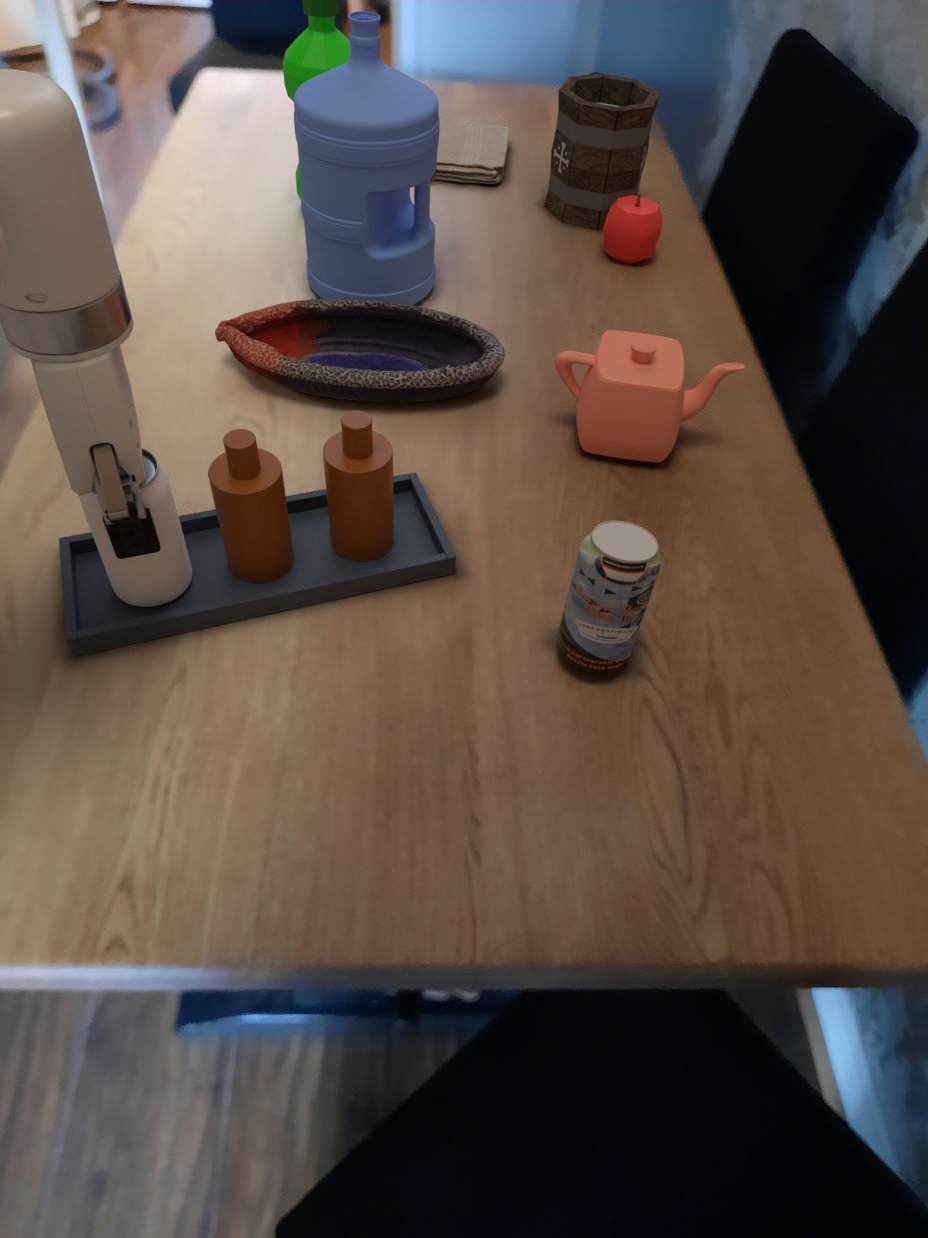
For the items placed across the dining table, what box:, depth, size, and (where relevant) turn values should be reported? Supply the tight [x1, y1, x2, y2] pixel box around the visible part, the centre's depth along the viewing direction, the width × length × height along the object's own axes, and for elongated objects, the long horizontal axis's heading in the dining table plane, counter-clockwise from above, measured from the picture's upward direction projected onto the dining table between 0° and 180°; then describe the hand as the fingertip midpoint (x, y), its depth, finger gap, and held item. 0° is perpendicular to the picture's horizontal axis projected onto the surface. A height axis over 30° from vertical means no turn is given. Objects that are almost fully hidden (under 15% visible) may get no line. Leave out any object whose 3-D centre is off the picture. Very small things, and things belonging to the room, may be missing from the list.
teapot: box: [554, 329, 746, 463], centre depth 85 cm, size 12×18×10 cm, turn 81°
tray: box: [58, 472, 457, 657], centre depth 73 cm, size 32×12×2 cm, turn 109°
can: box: [78, 447, 192, 607], centre depth 67 cm, size 6×6×12 cm
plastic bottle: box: [282, 0, 351, 201], centre depth 108 cm, size 10×10×25 cm
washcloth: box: [431, 121, 510, 185], centre depth 130 cm, size 12×18×3 cm, turn 176°
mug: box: [543, 71, 661, 231], centre depth 119 cm, size 20×14×15 cm
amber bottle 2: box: [322, 410, 394, 562], centre depth 71 cm, size 6×6×13 cm
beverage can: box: [556, 520, 662, 674], centre depth 66 cm, size 6×7×12 cm
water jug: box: [293, 10, 441, 306], centre depth 95 cm, size 16×16×28 cm
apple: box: [602, 193, 664, 265], centre depth 111 cm, size 8×8×8 cm
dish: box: [214, 298, 506, 403], centre depth 92 cm, size 16×31×5 cm, turn 84°
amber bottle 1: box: [207, 428, 294, 583], centre depth 69 cm, size 6×6×13 cm
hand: (133, 519), depth 66 cm, fingers open, 6 cm apart
